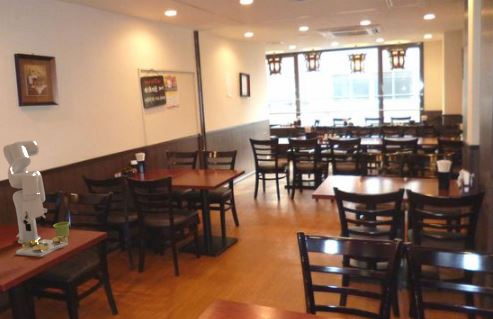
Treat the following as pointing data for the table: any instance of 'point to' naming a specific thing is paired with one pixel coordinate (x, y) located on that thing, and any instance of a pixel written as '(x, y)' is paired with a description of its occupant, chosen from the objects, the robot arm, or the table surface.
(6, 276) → the table surface
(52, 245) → the base plate
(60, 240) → the knob
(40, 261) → the table surface
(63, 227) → the plant pot
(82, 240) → the table surface
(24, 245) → the knob near
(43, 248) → the knob
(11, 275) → the table surface
